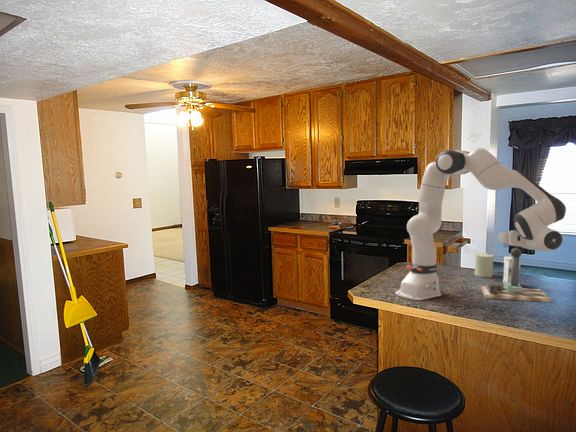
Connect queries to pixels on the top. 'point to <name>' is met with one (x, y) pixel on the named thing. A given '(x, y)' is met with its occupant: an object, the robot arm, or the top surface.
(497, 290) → the press frame
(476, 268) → the can
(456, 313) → the top surface
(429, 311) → the top surface
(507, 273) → the syrup box
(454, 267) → the top surface
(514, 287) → the press handle
